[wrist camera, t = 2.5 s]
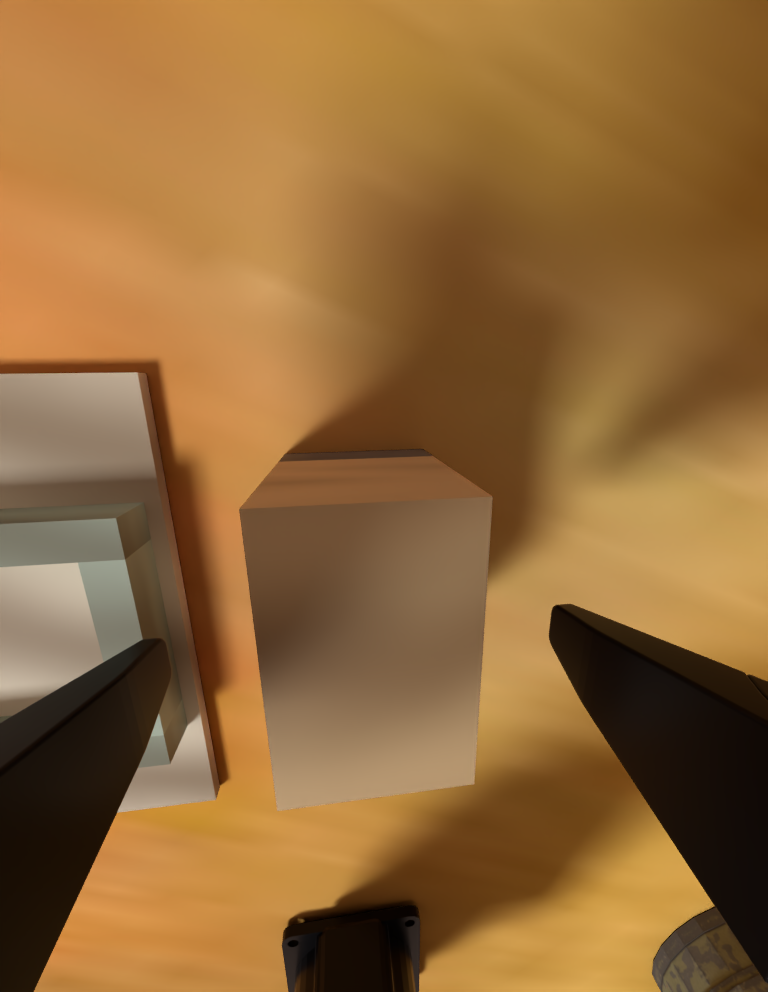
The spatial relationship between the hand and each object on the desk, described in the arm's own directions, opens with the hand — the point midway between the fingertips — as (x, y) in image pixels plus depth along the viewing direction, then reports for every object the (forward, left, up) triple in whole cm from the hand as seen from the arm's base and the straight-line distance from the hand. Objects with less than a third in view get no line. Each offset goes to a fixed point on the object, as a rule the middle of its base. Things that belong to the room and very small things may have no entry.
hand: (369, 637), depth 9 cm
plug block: (0, 0, -5) cm, 5 cm away
